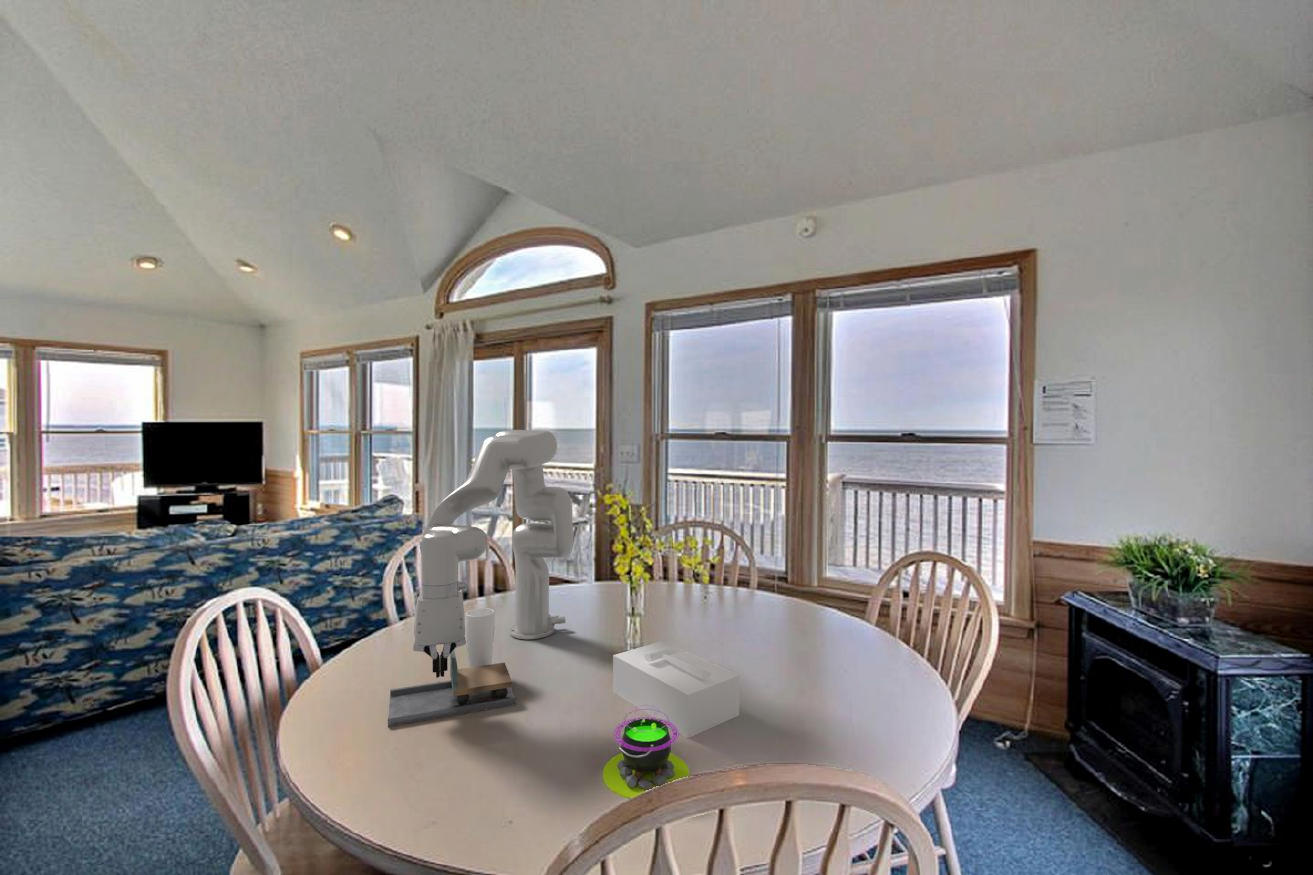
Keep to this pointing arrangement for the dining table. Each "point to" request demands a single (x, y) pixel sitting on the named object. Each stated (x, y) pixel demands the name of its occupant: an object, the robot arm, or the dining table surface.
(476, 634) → the drinking glass
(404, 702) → the rail
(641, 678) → the white hammer mold block
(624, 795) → the toy cauldron
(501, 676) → the cart
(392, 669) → the dining table surface
